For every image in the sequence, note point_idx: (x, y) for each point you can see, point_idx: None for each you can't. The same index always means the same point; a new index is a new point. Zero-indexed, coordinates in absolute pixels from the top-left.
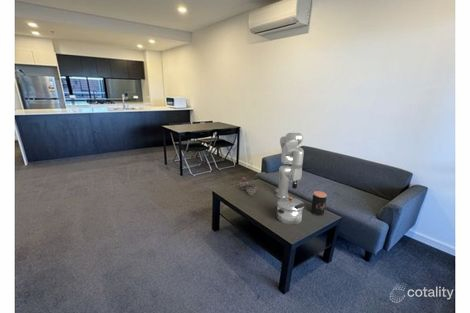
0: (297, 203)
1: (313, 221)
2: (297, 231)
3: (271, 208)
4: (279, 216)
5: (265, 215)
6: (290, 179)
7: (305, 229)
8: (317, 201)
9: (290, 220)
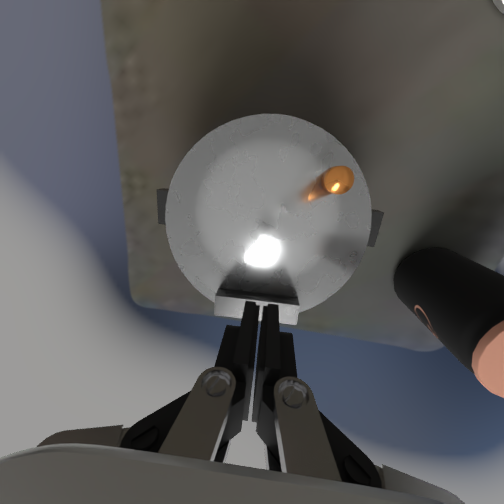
0: (296, 265)
1: None
2: None
3: (279, 56)
4: None
5: (182, 96)
6: (87, 455)
7: None
8: (442, 331)
9: None
